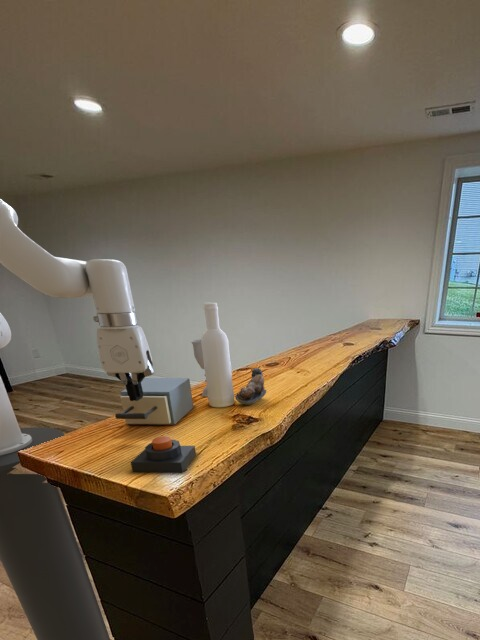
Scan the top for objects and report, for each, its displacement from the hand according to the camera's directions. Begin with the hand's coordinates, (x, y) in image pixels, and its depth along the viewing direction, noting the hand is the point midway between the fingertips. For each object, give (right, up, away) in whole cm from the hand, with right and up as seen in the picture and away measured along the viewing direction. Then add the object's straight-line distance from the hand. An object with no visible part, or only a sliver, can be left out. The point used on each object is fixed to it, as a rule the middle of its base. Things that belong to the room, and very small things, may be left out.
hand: (136, 399), depth 85 cm
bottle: (+13, +1, +25) cm, 28 cm away
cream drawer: (-1, -5, +9) cm, 10 cm away
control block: (+13, -15, -12) cm, 23 cm away
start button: (+13, -11, -13) cm, 22 cm away
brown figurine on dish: (+22, +2, +27) cm, 35 cm away
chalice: (+6, +5, +34) cm, 35 cm away
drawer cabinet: (-1, -3, +15) cm, 15 cm away
